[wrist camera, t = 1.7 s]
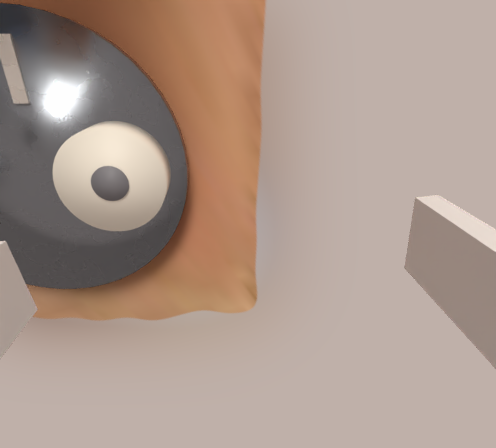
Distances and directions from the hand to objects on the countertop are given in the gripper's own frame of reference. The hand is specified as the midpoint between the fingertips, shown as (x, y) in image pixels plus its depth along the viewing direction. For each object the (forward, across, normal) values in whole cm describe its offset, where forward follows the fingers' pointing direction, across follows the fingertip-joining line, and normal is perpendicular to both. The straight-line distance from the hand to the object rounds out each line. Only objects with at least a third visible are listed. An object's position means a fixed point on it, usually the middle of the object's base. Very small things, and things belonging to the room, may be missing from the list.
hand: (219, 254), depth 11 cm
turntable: (+22, -16, -2) cm, 28 cm away
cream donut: (+21, -10, -2) cm, 23 cm away
